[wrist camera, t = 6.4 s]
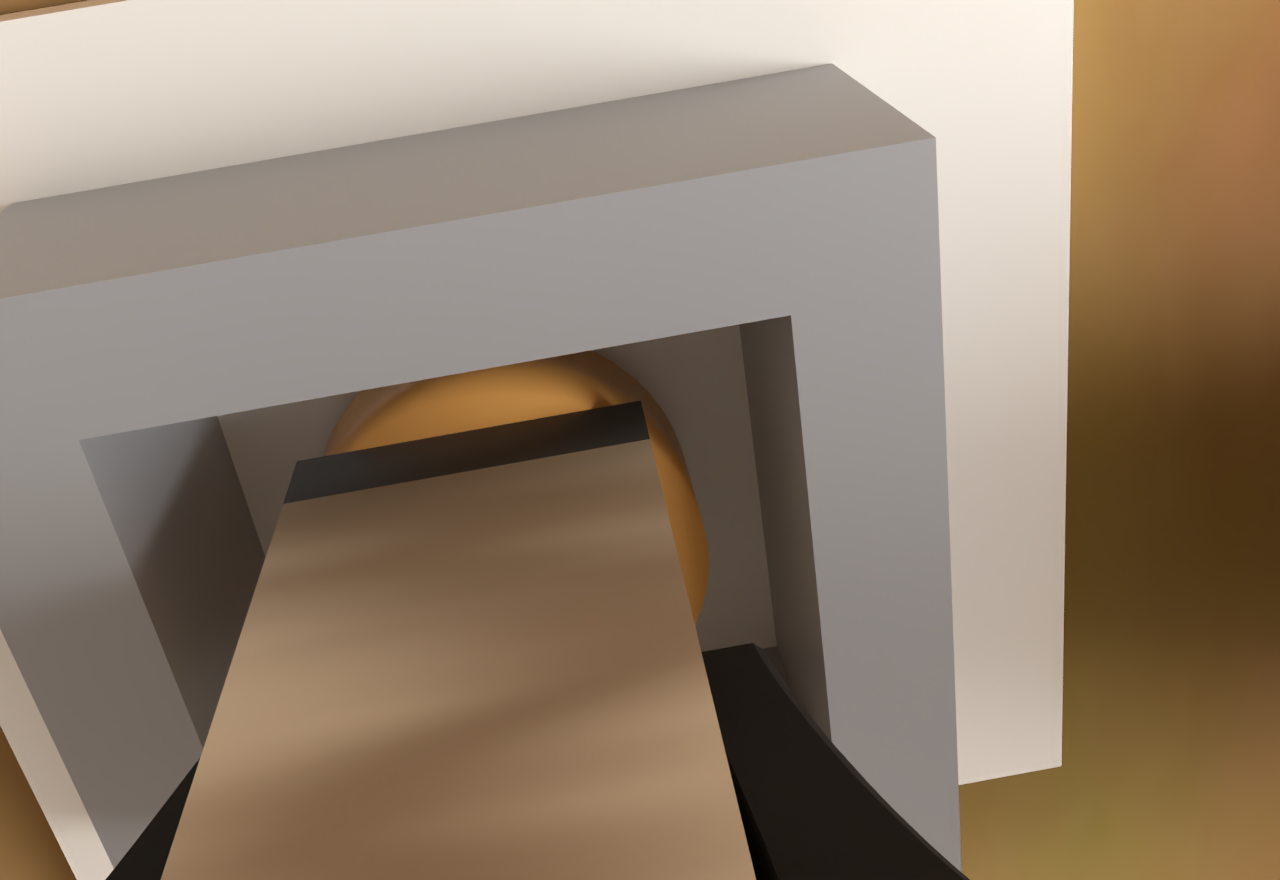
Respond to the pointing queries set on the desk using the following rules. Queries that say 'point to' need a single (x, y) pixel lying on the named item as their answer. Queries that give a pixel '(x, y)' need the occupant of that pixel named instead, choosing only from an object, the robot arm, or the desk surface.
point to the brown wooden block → (469, 675)
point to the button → (526, 398)
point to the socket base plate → (540, 336)
